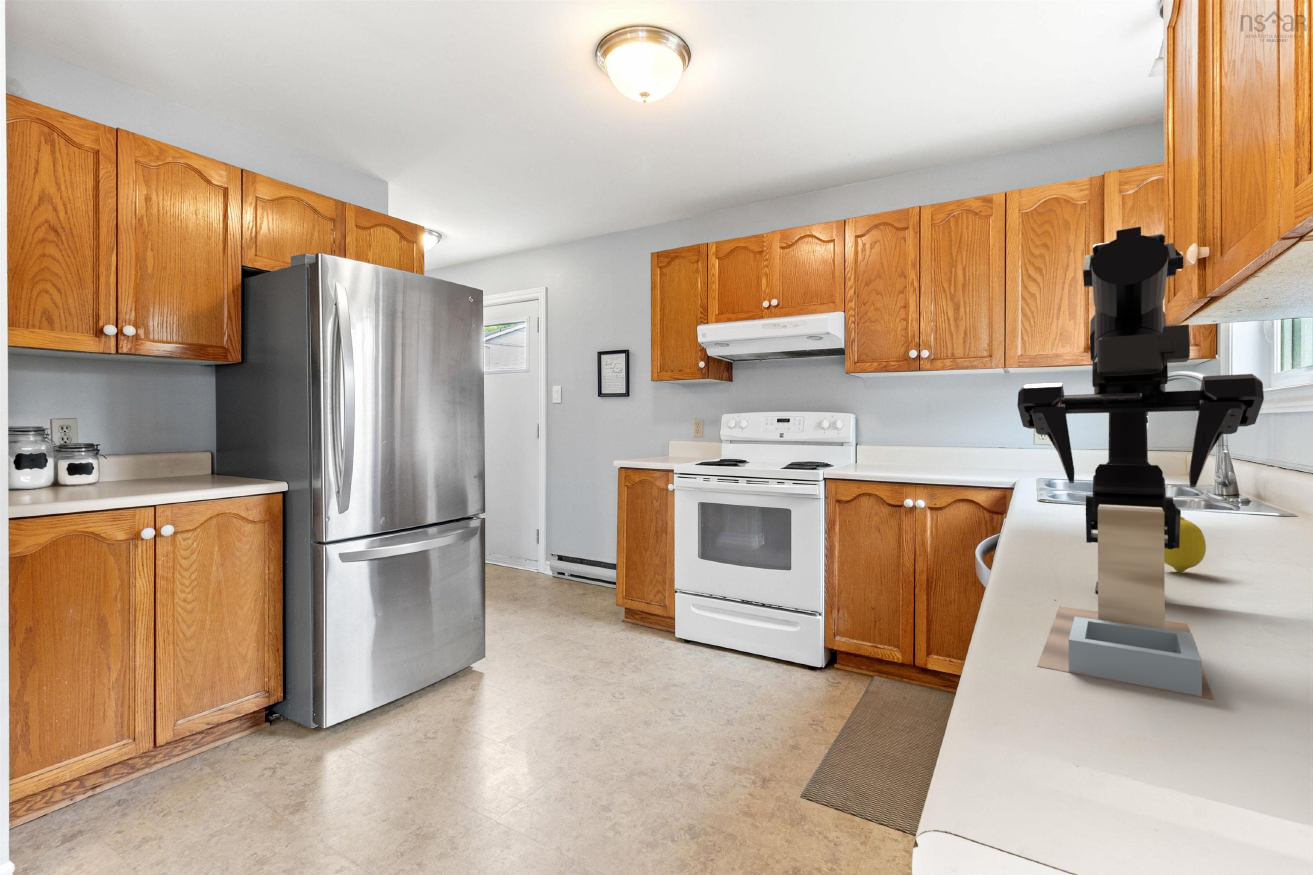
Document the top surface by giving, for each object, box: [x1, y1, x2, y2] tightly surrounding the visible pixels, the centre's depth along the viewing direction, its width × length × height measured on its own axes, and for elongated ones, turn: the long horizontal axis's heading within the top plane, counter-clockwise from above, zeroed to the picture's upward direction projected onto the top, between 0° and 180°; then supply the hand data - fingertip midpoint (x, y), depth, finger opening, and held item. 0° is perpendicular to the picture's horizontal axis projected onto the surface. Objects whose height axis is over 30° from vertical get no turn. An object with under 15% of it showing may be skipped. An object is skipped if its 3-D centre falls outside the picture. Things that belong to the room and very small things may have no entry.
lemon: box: [1164, 516, 1207, 573], centre depth 88 cm, size 6×6×8 cm
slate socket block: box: [1069, 617, 1203, 698], centre depth 49 cm, size 8×8×2 cm
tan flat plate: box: [1037, 605, 1214, 701], centre depth 55 cm, size 22×10×1 cm, turn 143°
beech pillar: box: [1097, 504, 1166, 629], centre depth 55 cm, size 4×4×12 cm
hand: (1129, 483), depth 59 cm, fingers open, 9 cm apart
